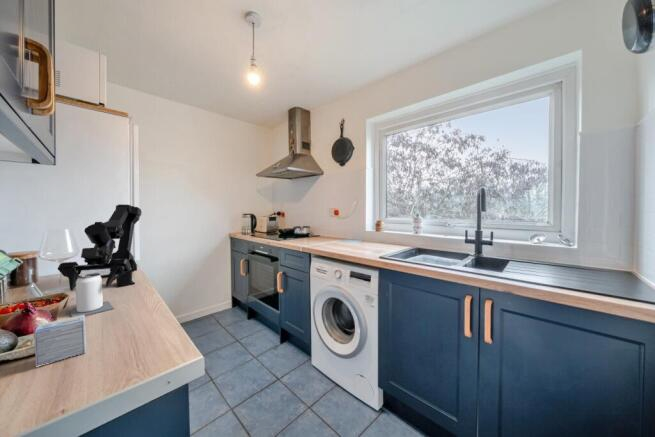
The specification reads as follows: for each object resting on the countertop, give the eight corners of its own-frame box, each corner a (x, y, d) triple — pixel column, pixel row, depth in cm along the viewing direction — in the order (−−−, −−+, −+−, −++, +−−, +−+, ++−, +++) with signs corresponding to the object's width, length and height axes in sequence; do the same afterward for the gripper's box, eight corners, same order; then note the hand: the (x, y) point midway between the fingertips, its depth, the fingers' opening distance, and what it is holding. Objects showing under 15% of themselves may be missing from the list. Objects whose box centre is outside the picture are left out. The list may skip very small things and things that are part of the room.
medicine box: (86, 346, 61) (85, 313, 61) (85, 353, 58) (84, 319, 58) (39, 359, 56) (37, 324, 55) (35, 369, 52) (33, 331, 52)
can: (106, 307, 84) (105, 274, 84) (82, 314, 78) (81, 279, 78) (97, 304, 87) (96, 272, 86) (72, 311, 81) (71, 276, 80)
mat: (69, 310, 82) (69, 309, 82) (108, 302, 90) (108, 301, 90) (72, 319, 76) (72, 318, 76) (113, 309, 84) (113, 308, 83)
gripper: (59, 240, 81) (38, 280, 72) (127, 237, 89) (116, 273, 80) (73, 257, 89) (56, 296, 79) (134, 254, 97) (125, 288, 87)
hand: (89, 288), depth 81 cm, fingers open, 9 cm apart
